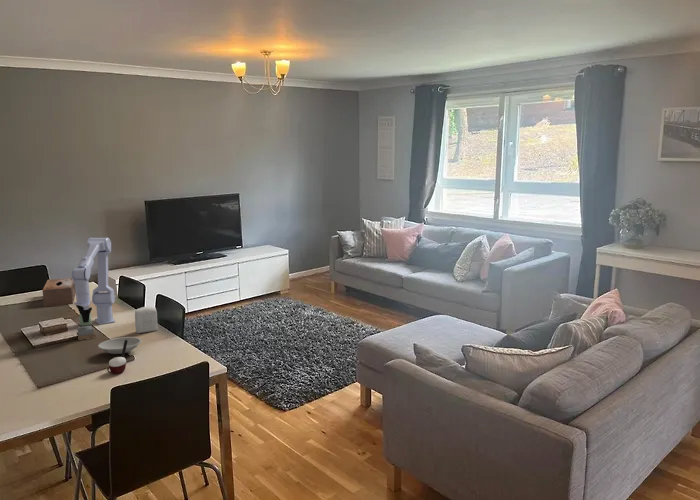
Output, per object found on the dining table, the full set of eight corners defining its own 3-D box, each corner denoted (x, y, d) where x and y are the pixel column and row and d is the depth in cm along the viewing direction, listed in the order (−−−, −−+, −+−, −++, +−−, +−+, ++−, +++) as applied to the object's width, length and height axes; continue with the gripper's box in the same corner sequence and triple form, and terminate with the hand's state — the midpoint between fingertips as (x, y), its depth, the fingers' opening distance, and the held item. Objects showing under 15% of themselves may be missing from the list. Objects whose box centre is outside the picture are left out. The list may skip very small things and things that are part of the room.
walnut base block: (77, 337, 255) (76, 332, 255) (93, 334, 259) (92, 329, 258) (79, 341, 249) (78, 336, 249) (95, 338, 253) (95, 333, 253)
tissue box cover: (72, 304, 307) (71, 287, 305) (44, 307, 302) (42, 290, 300) (75, 293, 330) (74, 277, 329) (49, 295, 325) (47, 279, 323)
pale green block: (78, 323, 253) (78, 314, 253) (90, 321, 256) (89, 312, 256) (80, 326, 249) (80, 317, 249) (92, 324, 252) (91, 315, 252)
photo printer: (156, 328, 268) (155, 304, 265) (158, 330, 264) (157, 306, 262) (134, 331, 262) (133, 307, 260) (136, 334, 258) (135, 309, 256)
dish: (99, 363, 224) (99, 351, 223) (97, 351, 236) (97, 340, 235) (144, 355, 232) (143, 344, 231) (140, 345, 244) (139, 334, 243)
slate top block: (78, 332, 254) (77, 327, 254) (91, 330, 258) (91, 325, 257) (79, 336, 249) (79, 331, 249) (93, 333, 253) (93, 328, 252)
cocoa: (108, 378, 210) (105, 349, 207) (105, 372, 215) (101, 344, 212) (133, 371, 216) (130, 343, 213) (129, 365, 221) (126, 338, 218)
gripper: (70, 290, 254) (73, 318, 256) (75, 297, 242) (78, 326, 244) (87, 288, 258) (89, 315, 260) (92, 295, 246) (94, 323, 248)
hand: (85, 320), depth 253 cm, fingers closed on pale green block, 5 cm apart
